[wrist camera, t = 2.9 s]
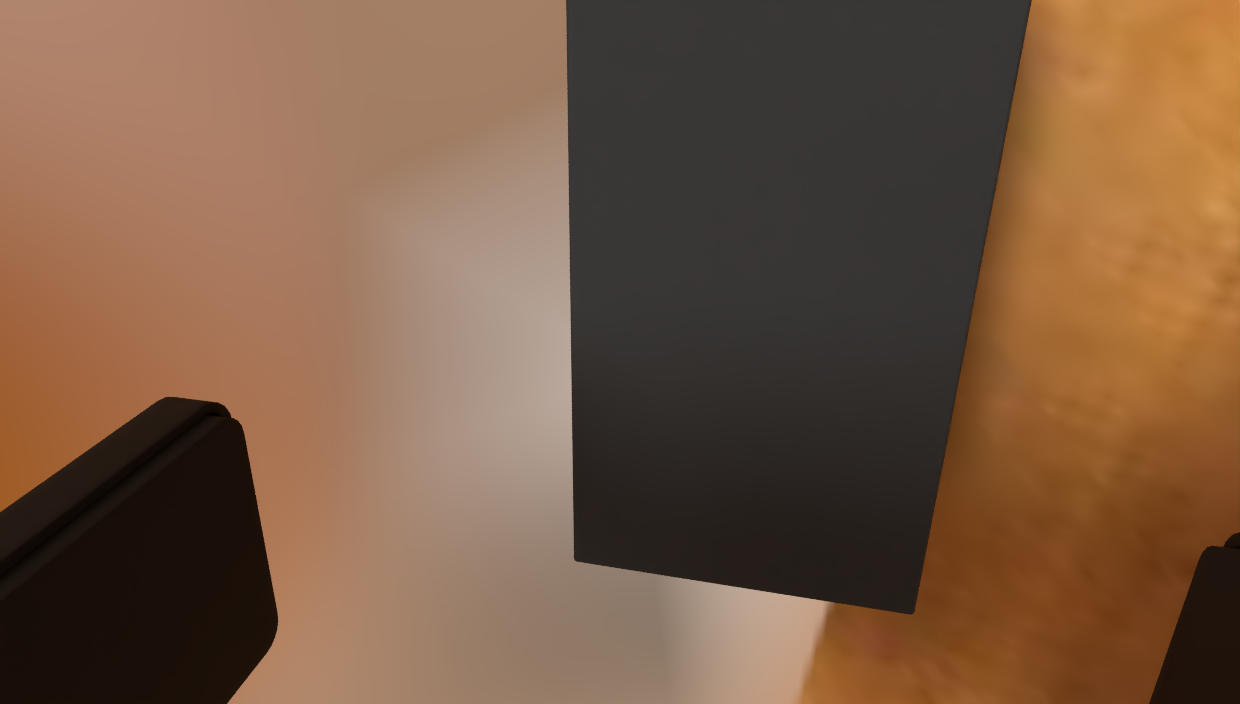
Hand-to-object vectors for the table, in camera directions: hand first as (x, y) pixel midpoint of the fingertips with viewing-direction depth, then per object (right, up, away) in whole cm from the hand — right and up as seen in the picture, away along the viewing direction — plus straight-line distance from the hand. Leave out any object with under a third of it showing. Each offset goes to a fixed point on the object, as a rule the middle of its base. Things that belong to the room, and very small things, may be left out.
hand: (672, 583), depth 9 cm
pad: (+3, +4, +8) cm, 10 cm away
